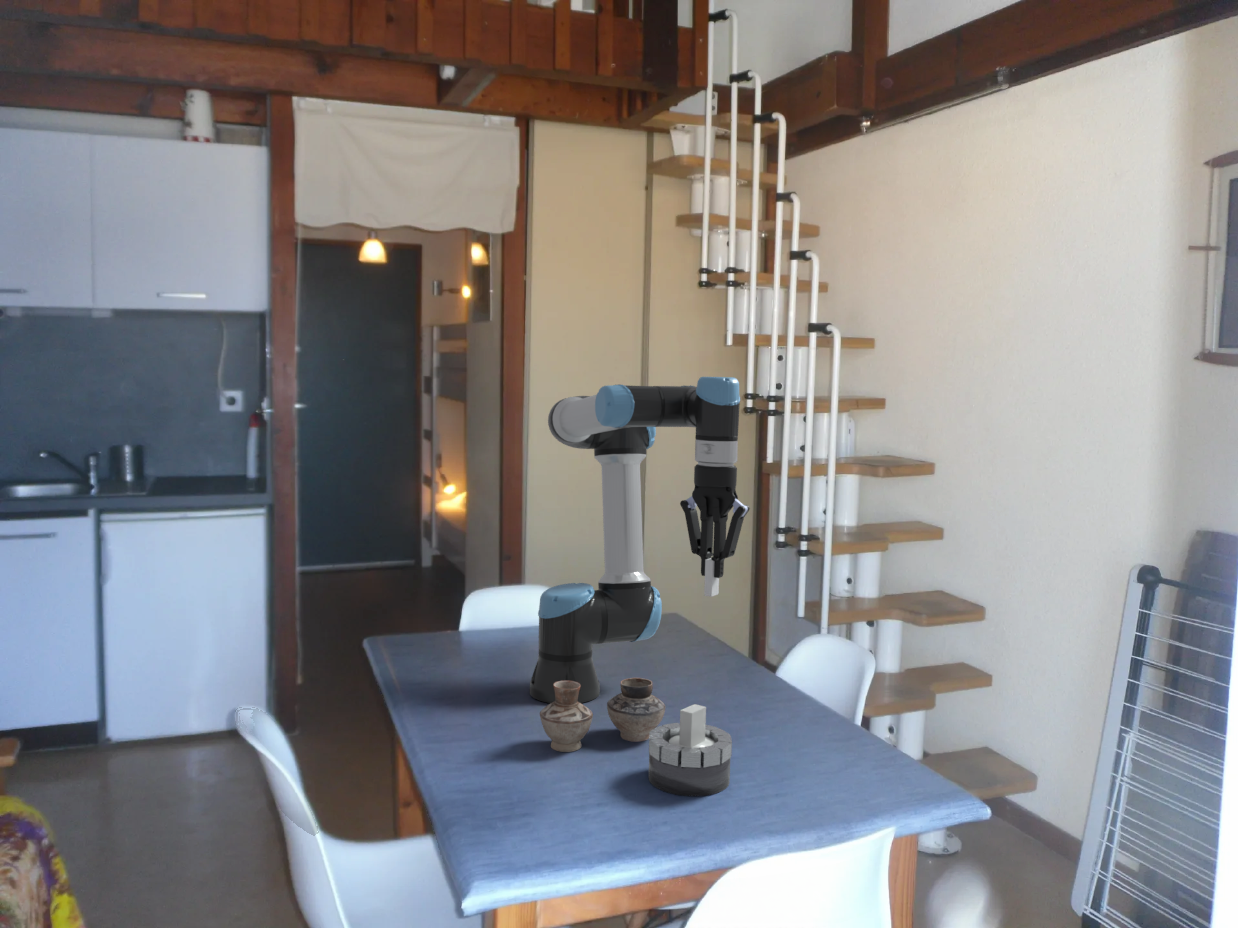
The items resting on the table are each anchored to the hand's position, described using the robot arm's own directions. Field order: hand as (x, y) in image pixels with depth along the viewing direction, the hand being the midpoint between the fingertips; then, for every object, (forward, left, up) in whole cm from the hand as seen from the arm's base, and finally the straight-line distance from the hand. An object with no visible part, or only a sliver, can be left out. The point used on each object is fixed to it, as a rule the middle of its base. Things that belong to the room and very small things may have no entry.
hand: (711, 594), depth 180 cm
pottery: (-20, -4, -31) cm, 37 cm away
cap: (+2, -10, -25) cm, 27 cm away
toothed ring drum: (+2, -10, -30) cm, 32 cm away
